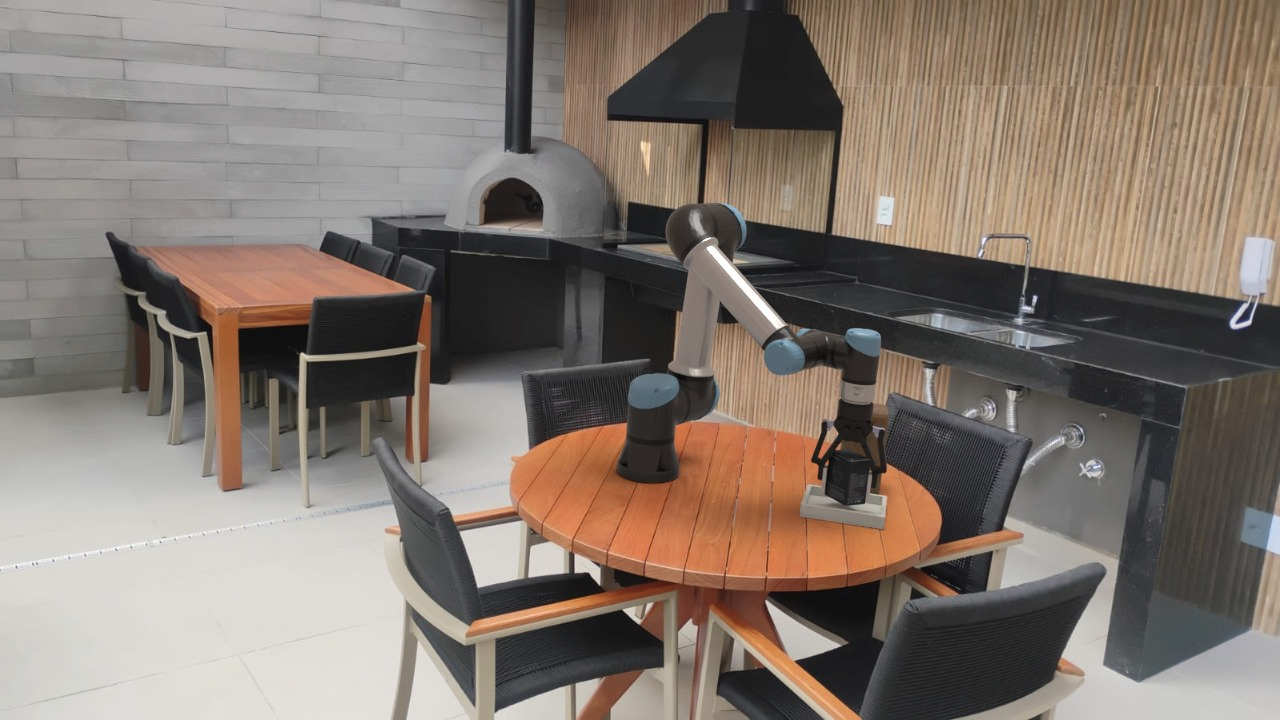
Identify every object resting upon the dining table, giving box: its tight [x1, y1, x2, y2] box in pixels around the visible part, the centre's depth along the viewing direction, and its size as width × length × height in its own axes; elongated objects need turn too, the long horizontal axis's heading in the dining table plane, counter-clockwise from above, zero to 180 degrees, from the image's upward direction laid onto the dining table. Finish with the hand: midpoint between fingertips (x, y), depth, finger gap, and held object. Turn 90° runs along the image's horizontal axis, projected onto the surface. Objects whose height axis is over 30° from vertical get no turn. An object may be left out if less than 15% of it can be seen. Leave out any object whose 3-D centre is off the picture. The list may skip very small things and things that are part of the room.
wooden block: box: [839, 402, 890, 495], centre depth 235 cm, size 10×10×20 cm
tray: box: [799, 483, 888, 531], centre depth 220 cm, size 18×14×3 cm
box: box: [825, 449, 870, 506], centre depth 218 cm, size 8×6×11 cm
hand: (844, 497), depth 220 cm, fingers closed on box, 9 cm apart
